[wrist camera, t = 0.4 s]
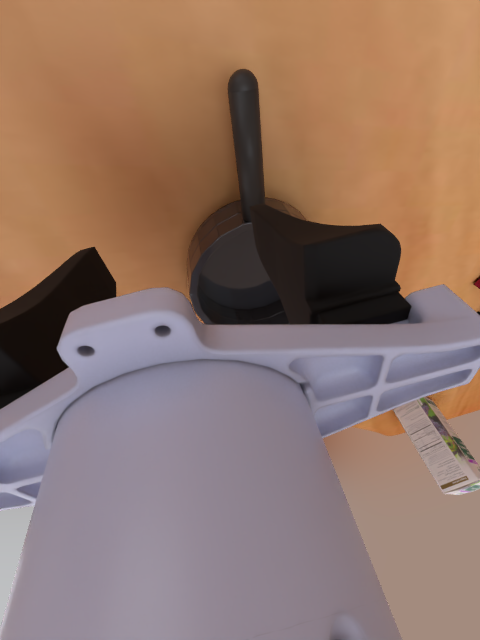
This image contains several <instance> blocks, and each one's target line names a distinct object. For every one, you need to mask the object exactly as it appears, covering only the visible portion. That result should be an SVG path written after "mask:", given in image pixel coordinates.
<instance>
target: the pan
mask: <svg viewBox="0 0 480 640" xmlns="http://www.w3.org/2000/svg"><path fill="white" fill-rule="evenodd" d="M265 204H266V205H268V206H270V207H272V208H274V209H276V210H278V211H281V212H283V213H285V214H288V215H290V216H293V217H296V218H299V219H302V220H305V221H307V220H306V219H305V218H304V217H303V215H302V214H301V213H300V212H299V211H297V210H296V209H295V208H293V207H292V206H291V205H289V204H287V203H284V202H282V201H279V200H276V199H271V198H265ZM187 275H188V285H189V295H190V298H191V301H192V305H193V308H194V311H195V312H196V313H197V315H198V316H199V317H200V318H201V319H202V321H203V322H204V323H205V324H206V325H290V323H289V321H288V318H287V315H286V313H285V310H284V307H283V305H282V302H281V299H280V297H279V295H278V293H277V291H276V289H275V287H274V285H273V284H272V282H271V280H270V278H269V276H268V274H267V272H266V270H265V268H264V267H263V265H262V263H261V260H260V257H259V255H258V252H257V249H256V245H255V239H254V232H253V226H252V222H249V221H245V220H244V219H243V215H242V207H241V200H239V201H235V202H233V203H230V204H228V205H226V206H224V207H222V208H220V209H219V210H217V211H216V212H215V213H213V214H212V215H211V216H209V217H208V218H207V219H206V220H205V221H204V222H203V224H202V225H201V226H200V227H199V229H198V230H197V232H196V233H195V235H194V237H193V239H192V241H191V244H190V247H189V251H188V258H187Z"/></svg>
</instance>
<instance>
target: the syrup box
mask: <svg viewBox="0 0 480 640" xmlns="http://www.w3.org/2000/svg"><path fill="white" fill-rule="evenodd" d="M393 411H394V413H395V414H396V416H397V418H398V419H399V421H400V423H401V424H402V426H403V428H404V429H405V431H406V433H407V434H408V436H409V437H410V439H411V441H412V443H413V444H414V446H415V447H416V449H417V451H418V452H419V454H420V456H421V458H422V459H423V461H424V462H425V464H426V466H427V468H428V469H429V471H430V472H431V474H432V476H433V477H434V479H435V481H436V482H437V484H438V486H439V487H440V489H441V491H442V492H443V493H444V494H456V495H460V494H464V493H469V492H472V491H475V490H478V489H480V466H479V465H478V463H477V462H476V461H475V459H474V458H473V456H472V455H471V454H470V452H469V451H468V449H467V448H466V446H465V445H464V444H463V443H462V441H461V439H460V438H459V437H458V435H457V434H456V432H455V431H454V430H453V428H452V427H451V426H450V424H449V423H448V421H447V420H446V418H445V417H444V416H443V414H442V413H441V412H440V410H439V409H438V408H437V406H436V405H435V403H434V402H433V401H432V400H431V399H429V398H426V397H423V398H420V399H417V400H415V401H412V402H409V403H407V404H404V405H402V406H399V407H397V408H395V409H393Z"/></svg>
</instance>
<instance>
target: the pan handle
mask: <svg viewBox="0 0 480 640" xmlns="http://www.w3.org/2000/svg"><path fill="white" fill-rule="evenodd" d="M228 97H229V105H230V114H231V122H232V131H233V139H234V148H235V156H236V164H237V173H238V181H239V190H240V198H241V207H242V215H243V219H244V220H245V221H249V222H252V220H251V213H250V207H251V206H255V205H259V204H265V192H264V175H263V159H262V142H261V125H260V108H259V91H258V82H257V79H256V77H255V76H254V74H253V73H252V72H251V71H249V70H246V69H240V70H237V71H236V72H234V73H233V74H232V76H231V77H230V80H229V83H228Z"/></svg>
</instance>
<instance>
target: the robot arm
mask: <svg viewBox="0 0 480 640" xmlns="http://www.w3.org/2000/svg"><path fill="white" fill-rule="evenodd" d="M250 213H251V220H252V226H253V232H254V239H255V245H256V249H257V252H258V255H259V257H260V260H261V263H262V265H263V267H264V268H265V270H266V272H267V274H268V276H269V278H270V280H271V282H272V284H273V285H274V287H275V289H276V291H277V293H278V295H279V297H280V299H281V302H282V305H283V307H284V310H285V313H286V315H287V318H288V321H289V323H290V325H206V324H203V323H201V322H200V321H199V320H198V319H197V317H196V315H195V313H194V310H193V308H192V305H191V303H190V302H189V301H188V300H187V298H186V297H185V296H184V295H183V294H182V293H180V292H178V291H175V290H173V289H170V288H150V289H146V290H142V291H138V292H134V293H130V294H126V295H122V296H119V297H116V282H115V280H114V279H113V277H112V275H111V274H110V272H109V270H108V269H107V267H106V265H105V264H104V262H103V260H102V259H101V257H100V255H99V254H98V252H97V250H96V249H95V247H91V248H87V249H84V250H80V251H79V252H77V253H76V254H74V255H73V256H72V257H70V258H69V259H68V260H67V261H66V262H64V263H63V264H62V265H61V266H60V267H59V268H58V269H56V270H55V271H54V272H53V273H52V274H50V275H49V276H48V277H47V278H45V279H44V280H43V281H42V282H41V283H39V284H38V285H37V286H36V287H34V288H33V289H31V290H30V291H29V292H27V293H26V294H24V295H23V296H21V297H20V298H18V299H17V300H15V301H13V302H12V303H10V304H8V305H6V306H5V307H3V308H1V309H0V511H1V510H8V509H14V508H21V507H29V506H34V510H33V513H32V517H31V520H30V524H29V528H28V531H27V535H26V538H25V542H24V545H23V549H22V552H21V556H20V559H19V563H18V567H17V570H16V573H15V577H14V581H13V584H12V588H11V591H10V595H9V598H8V602H7V606H6V609H5V612H4V616H3V620H2V623H1V627H0V640H402V638H401V636H400V633H399V630H398V628H397V625H396V623H395V620H394V618H393V615H392V613H391V610H390V608H389V605H388V602H387V601H386V598H385V595H384V593H383V590H382V587H381V585H380V582H379V580H378V578H377V575H376V572H375V570H374V567H373V565H372V562H371V560H370V557H369V555H368V552H367V550H366V547H365V544H364V542H363V539H362V537H361V534H360V532H359V529H358V527H357V524H356V522H355V519H354V517H353V514H352V512H351V509H350V507H349V504H348V502H347V499H346V497H345V494H344V492H343V489H342V487H341V484H340V482H339V479H338V476H337V474H336V472H335V469H334V466H333V464H332V461H331V459H330V456H329V454H328V451H327V449H326V446H325V444H324V441H323V439H322V438H325V437H327V436H329V435H332V434H334V433H337V432H339V431H341V430H344V429H346V428H348V427H351V426H353V425H356V424H358V423H361V422H363V421H365V420H368V419H370V418H373V417H375V416H377V415H380V414H382V413H385V412H387V411H389V410H392V409H394V408H397V407H399V406H402V405H404V404H407V403H409V402H412V401H415V400H417V399H420V398H423V397H426V396H429V395H432V394H435V393H437V392H440V391H444V390H447V389H451V388H454V387H458V386H461V385H465V384H468V383H469V382H470V381H471V380H472V378H473V377H474V375H475V374H476V372H477V371H478V369H479V368H480V315H479V314H478V313H477V312H475V311H474V310H473V309H472V308H471V307H470V306H468V305H467V304H466V303H465V302H464V301H463V300H462V299H460V298H459V297H458V296H457V295H456V294H455V293H453V292H452V291H451V290H450V289H449V288H448V287H447V286H445V285H444V284H443V285H438V286H434V287H430V288H427V289H423V290H419V291H415V292H413V293H411V294H409V295H408V296H407V297H406V298H405V299H404V298H403V296H402V295H401V294H400V293H399V291H400V289H401V288H400V285H399V284H398V283H397V282H396V281H395V277H396V273H397V269H398V265H399V261H400V256H401V247H400V243H399V241H398V239H397V238H396V237H395V236H394V235H393V234H392V233H391V232H390V231H388V230H387V229H386V228H385V227H384V226H382V225H381V224H373V225H362V226H336V225H326V224H319V223H314V222H309V221H305V220H302V219H299V218H296V217H293V216H290V215H288V214H285V213H283V212H281V211H278V210H276V209H274V208H272V207H270V206H268V205H266V204H259V205H255V206H251V207H250Z"/></svg>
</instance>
